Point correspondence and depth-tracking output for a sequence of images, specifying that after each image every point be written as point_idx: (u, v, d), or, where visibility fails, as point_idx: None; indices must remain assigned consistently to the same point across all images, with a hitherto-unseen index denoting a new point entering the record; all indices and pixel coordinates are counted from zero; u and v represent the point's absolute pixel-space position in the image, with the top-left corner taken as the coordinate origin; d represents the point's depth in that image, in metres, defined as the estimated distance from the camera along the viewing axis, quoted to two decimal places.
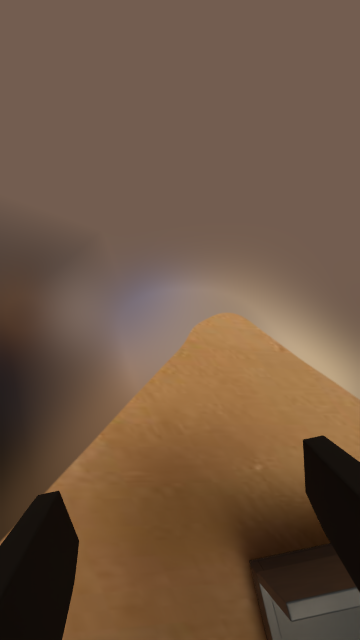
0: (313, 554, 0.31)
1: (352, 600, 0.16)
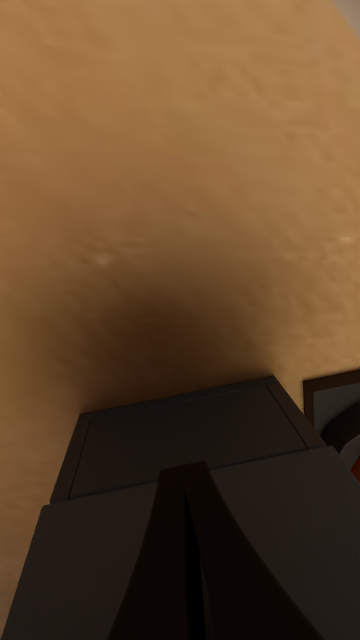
0: (187, 425, 0.16)
1: None
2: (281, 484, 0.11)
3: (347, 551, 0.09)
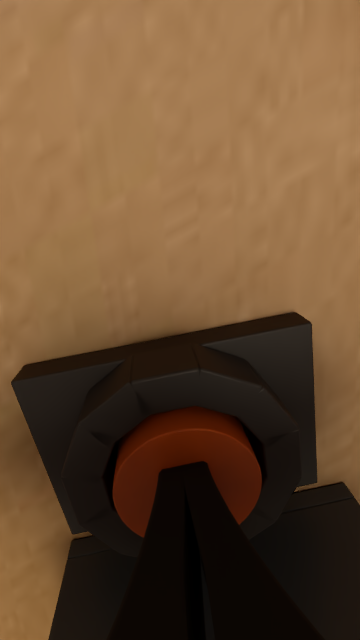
0: None
1: None
2: None
3: None
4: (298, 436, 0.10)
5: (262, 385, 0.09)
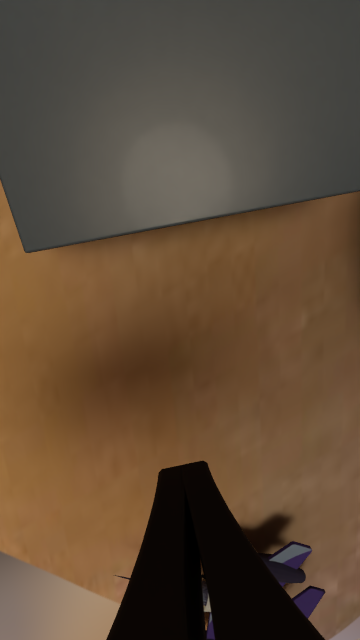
0: None
1: None
2: None
3: None
4: None
5: None
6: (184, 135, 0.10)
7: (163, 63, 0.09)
